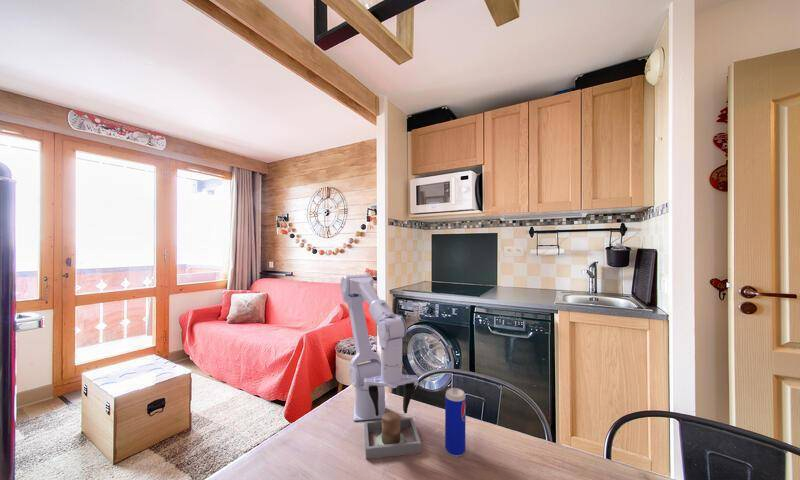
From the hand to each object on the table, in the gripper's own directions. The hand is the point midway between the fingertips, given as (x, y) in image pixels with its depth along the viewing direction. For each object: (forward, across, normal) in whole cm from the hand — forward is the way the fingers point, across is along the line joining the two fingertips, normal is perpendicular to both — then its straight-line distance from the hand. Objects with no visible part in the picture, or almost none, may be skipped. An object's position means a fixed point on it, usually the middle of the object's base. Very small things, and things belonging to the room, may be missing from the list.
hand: (391, 412), depth 78 cm
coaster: (+8, 0, 0) cm, 8 cm away
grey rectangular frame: (+8, 0, 0) cm, 8 cm away
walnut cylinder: (+7, 0, 0) cm, 7 cm away
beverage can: (+8, +16, -6) cm, 19 cm away
